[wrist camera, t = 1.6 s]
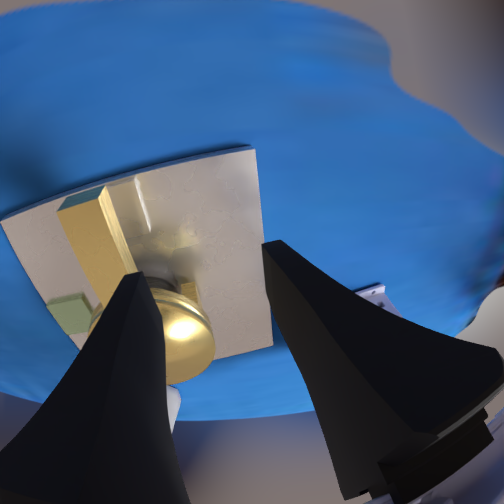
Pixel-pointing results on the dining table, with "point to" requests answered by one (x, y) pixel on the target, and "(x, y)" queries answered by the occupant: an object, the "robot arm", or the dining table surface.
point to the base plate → (165, 244)
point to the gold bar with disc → (121, 263)
